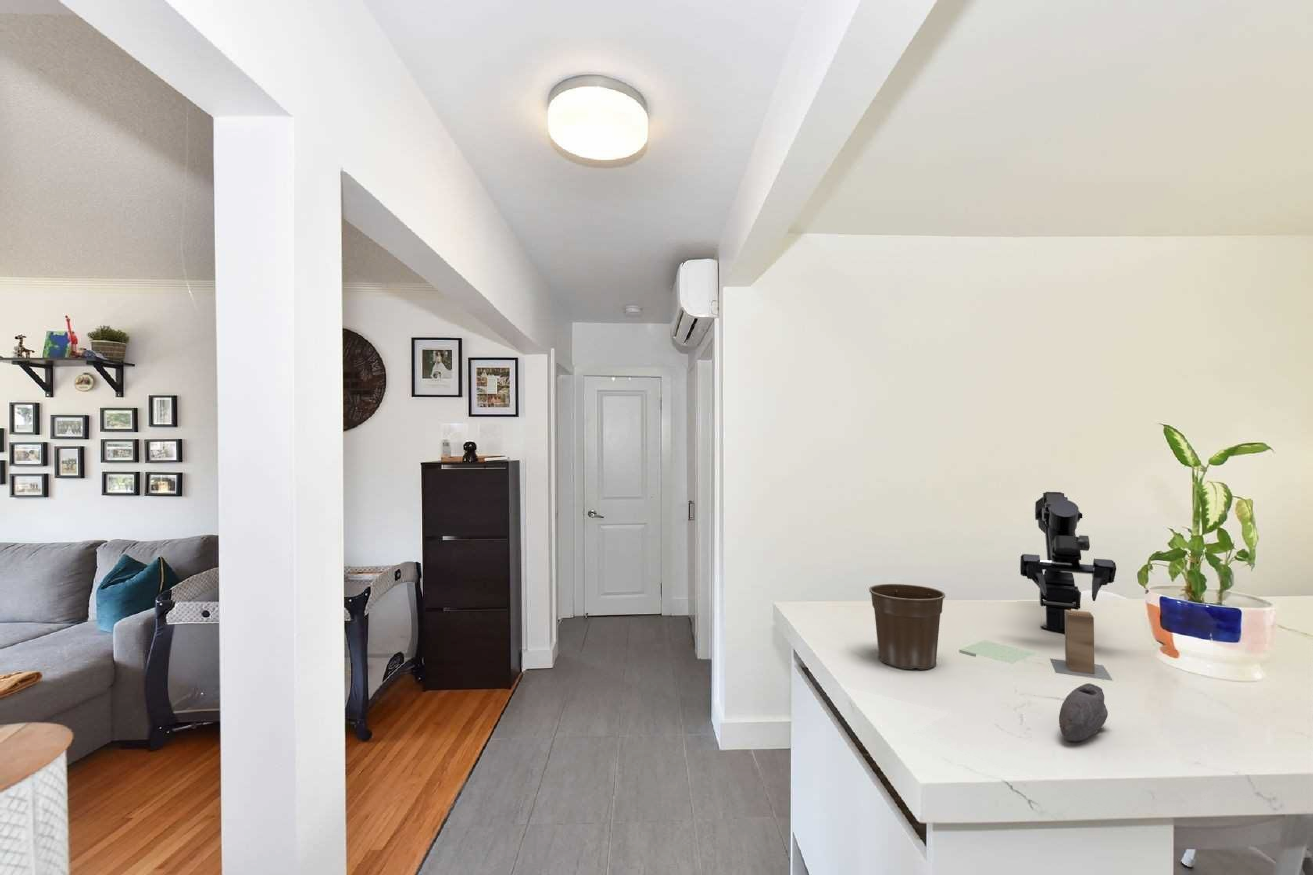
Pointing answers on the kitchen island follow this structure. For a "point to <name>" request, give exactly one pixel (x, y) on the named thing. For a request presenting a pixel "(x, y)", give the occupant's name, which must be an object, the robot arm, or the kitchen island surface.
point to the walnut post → (1079, 641)
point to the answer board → (997, 651)
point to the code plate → (1062, 669)
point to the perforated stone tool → (1082, 713)
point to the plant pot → (907, 624)
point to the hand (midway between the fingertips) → (1069, 597)
